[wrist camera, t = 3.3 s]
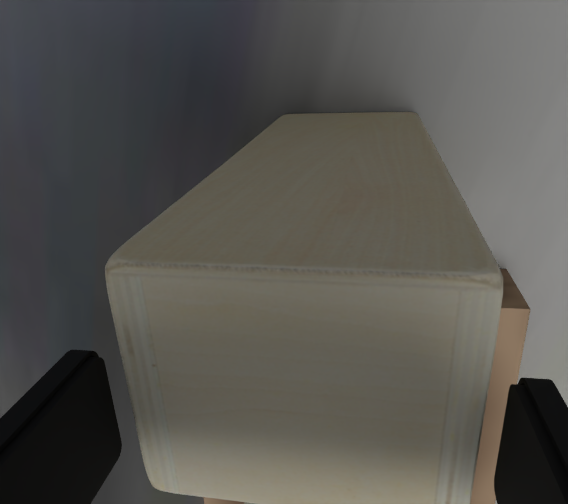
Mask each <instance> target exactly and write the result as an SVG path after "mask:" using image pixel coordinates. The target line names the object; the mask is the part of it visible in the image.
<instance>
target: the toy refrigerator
mask: <svg viewBox="0 0 568 504" xmlns="http://www.w3.org/2000/svg"><path fill="white" fill-rule="evenodd" d="M105 276H106V284H107V292H108V296H109V301H110V306H111V310H112V315H113V320H114V325H115V329H116V334H117V339H118V343H119V348H120V352H121V357H122V362H123V367H124V371H125V376H126V381H127V386H128V390H129V395H130V400H131V404H132V409H133V414H134V418H135V423H136V428H137V433H138V437H139V442H140V447H141V452H142V457H143V461H144V465H145V468H146V472H147V475H148V478H149V480H150V482H151V484H152V486H153V487H154V488H156V489H158V490H161V491H166V492H171V493H176V494H184V495H192V496H200V497H208V498H216V499H224V500H232V501H240V502H247V503H255V504H470V501H471V495H472V489H473V483H474V477H475V471H476V465H477V458H478V452H479V446H480V440H481V433H482V427H483V420H484V414H485V407H486V401H487V395H488V389H489V384H490V378H491V372H492V366H493V359H494V353H495V347H496V341H497V334H498V326H499V319H500V312H501V304H502V297H503V276H502V273H501V271H500V268H499V266H498V264H497V262H496V260H495V258H494V256H493V255H492V253H491V251H490V249H489V247H488V245H487V243H486V241H485V240H484V238H483V236H482V234H481V232H480V230H479V228H478V227H477V225H476V223H475V221H474V219H473V217H472V215H471V213H470V211H469V209H468V207H467V205H466V203H465V201H464V200H463V198H462V196H461V194H460V192H459V190H458V188H457V187H456V185H455V183H454V182H453V180H452V178H451V176H450V174H449V172H448V170H447V169H446V166H445V164H444V162H443V161H442V159H441V157H440V155H439V153H438V151H437V149H436V147H435V145H434V144H433V142H432V140H431V138H430V136H429V134H428V133H427V131H426V128H425V127H424V125H423V123H422V121H421V119H420V117H419V115H418V114H417V113H413V112H364V113H306V114H286V115H282V116H281V117H279V118H278V119H277V120H276V121H275V122H273V123H272V124H271V125H270V126H268V127H267V128H266V129H265V130H264V131H263V132H261V133H260V134H259V135H258V136H256V137H255V138H254V139H253V140H252V141H250V142H249V143H248V144H247V145H245V146H244V147H243V148H242V149H241V150H239V151H238V152H237V153H236V154H235V155H234V156H232V157H231V158H230V159H229V160H227V161H226V162H225V163H224V164H222V165H221V166H220V167H219V168H217V169H216V170H215V171H214V172H212V173H211V174H210V175H209V176H207V177H206V178H205V179H204V180H203V181H201V182H200V183H199V184H198V185H196V186H195V187H194V188H193V189H191V190H190V191H189V192H188V193H186V194H185V195H184V196H183V197H181V198H180V199H179V200H178V201H176V202H175V203H174V204H173V205H171V206H170V207H169V208H168V209H166V210H165V211H164V212H163V213H161V214H160V215H159V216H158V217H157V218H155V219H154V220H153V221H152V222H150V223H149V224H148V225H147V226H145V227H144V228H143V229H142V230H140V231H139V232H138V233H136V234H135V235H134V236H133V237H132V238H130V239H129V240H128V241H127V242H125V243H124V244H123V245H122V246H121V247H120V248H119V249H118V250H116V251H115V252H114V254H113V255H112V256H111V257H110V258H109V260H108V262H107V264H106V266H105Z"/></svg>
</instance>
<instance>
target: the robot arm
mask: <svg viewBox="0 0 568 504" xmlns="http://www.w3.org/2000/svg"><path fill="white" fill-rule="evenodd" d="M121 447H122V444H121V438H120V433H119V428H118V424H117V419H116V414H115V410H114V405H113V400H112V395H111V391H110V386H109V381H108V377H107V372H106V367H105V363H104V360H103V359H102V358H100V357H98V354H97V353H96V352H94V351H85V350H70V351H68V352H67V353H66V354H65V355H64V356H63V357H62V358H61V359H60V360H59V361H58V362H57V363H56V364H55V365H54V366H53V367H52V368H51V369H50V370H49V371H48V372H47V373H46V374H45V375H44V376H43V377H42V378H41V379H40V380H39V381H38V382H37V383H36V384H35V385H34V386H33V387H32V388H31V389H30V390H29V391H28V392H27V393H26V394H25V395H24V396H23V397H22V398H21V399H20V400H19V401H18V402H17V403H16V404H14V405H13V406H12V407H11V408H10V409H9V410H8V411H7V412H6V413H5V414H4V415H3V416H2V417H1V418H0V504H91V502H92V500H93V499H94V497H95V496H96V494H97V492H98V491H99V489H100V488H101V486H102V484H103V483H104V481H105V479H106V478H107V476H108V475H109V473H110V471H111V470H112V468H113V466H114V465H115V463H116V462H117V460H118V458H119V456H120V453H121ZM494 491H495V496H496V500H497V503H498V504H568V407H567V405H566V404H565V402H564V400H563V398H562V397H561V395H560V393H559V391H558V389H557V388H556V386H555V384H554V383H553V381H552V380H549V379H534V378H521V379H520V380H519V383H518V384H511V385H510V387H509V392H508V398H507V404H506V410H505V416H504V422H503V428H502V434H501V440H500V446H499V452H498V458H497V464H496V470H495V476H494Z"/></svg>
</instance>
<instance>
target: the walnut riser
mask: <svg viewBox="0 0 568 504" xmlns="http://www.w3.org/2000/svg"><path fill="white" fill-rule="evenodd" d="M500 271H501V273H502V276H503V297H502V304H501V312H500V319H499V326H498V334H497V341H496V347H495V353H494V359H493V366H492V372H491V378H490V384H489V389H488V395H487V401H486V407H485V414H484V420H483V427H482V433H481V440H480V446H479V452H478V458H477V465H476V471H475V477H474V483H473V489H472V495H471V501H470V504H495V500H496V496H495V491H494V476H495V470H496V464H497V458H498V452H499V446H500V440H501V434H502V428H503V422H504V416H505V410H506V404H507V398H508V392H509V387H510V385H511V384H517V380H518V374H519V369H520V363H521V358H522V352H523V347H524V341H525V336H526V330H527V325H528V320H529V314H530V308H529V306H528V304H527V303H526V301H525V299H524V298H523V296H522V294H521V293H520V291H519V289H518V288H517V286H516V284H515V283H514V281H513V279H512V278H511V276H510V274H509V273H508V271H507V269H500ZM204 504H255V503H247V502H240V501H232V500H224V499H216V498H208V497H204Z"/></svg>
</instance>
